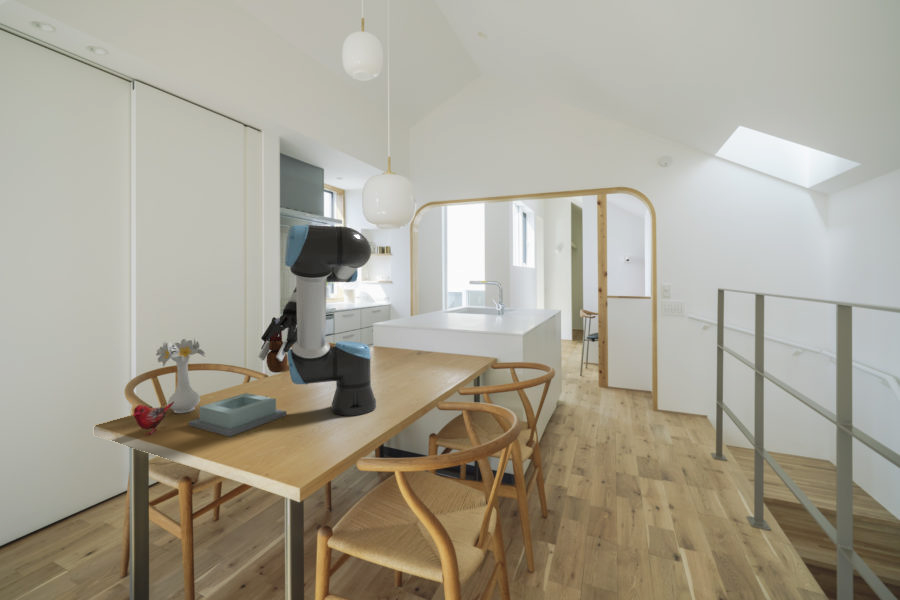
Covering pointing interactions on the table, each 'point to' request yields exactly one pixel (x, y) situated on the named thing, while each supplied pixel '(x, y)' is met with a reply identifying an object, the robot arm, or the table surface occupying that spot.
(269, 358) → the wooden figurine
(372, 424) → the table surface
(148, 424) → the decorative bird figurine
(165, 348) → the flower vase
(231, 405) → the collar stand
